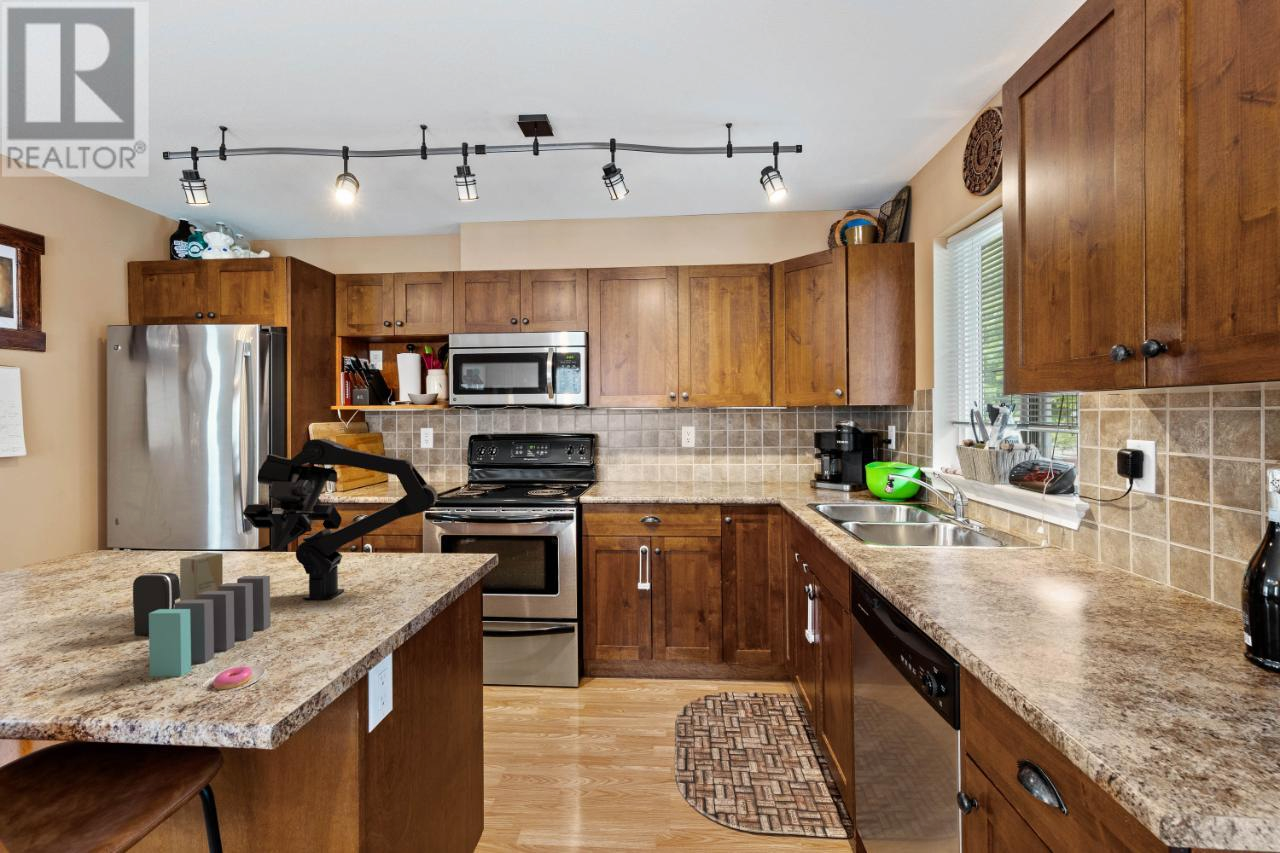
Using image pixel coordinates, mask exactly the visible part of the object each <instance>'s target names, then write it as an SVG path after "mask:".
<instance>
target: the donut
mask: <svg viewBox="0 0 1280 853" xmlns="http://www.w3.org/2000/svg"><path fill="white" fill-rule="evenodd" d="M265 673H266V668H265V667H264V666H262V665H254V664H252V665H250V664H249V665H244V666H243V665H242V666H238V667H232V668H229V669H226V670H223V671H221V672H220V673H217V674H214V675H213V676H211V677H210V678H208V679H206V680H205V681H204V682H203V683H202V685H201V686H200V690H202V689H203V687H204V686H205V685H206V683H207V684H208V683H210V682H212V681H213V687H214V688H215V689H216V688H217V690H229V691H227V693H232V692H235V690H236V691H238V689H239V690H241V689H244V688H247V687H249V686H252V685H253V684H254V683H255V682H257V681H260V680H261V678H263V676H264V675H265ZM252 675H254V676H255V677H256V679H255V681H254V680H253V681H254V682H253V681H251V684H250V683H249V684H247V683H248V682H249V681H250V680H251V678H253V677H252ZM213 679H214V680H213ZM211 680H212V681H211ZM209 681H210V682H209ZM204 684H205V685H204ZM245 684H246V685H245ZM240 685H241V686H242V687H241V686H240ZM243 685H244V686H243ZM202 686H203V687H202ZM234 687H235V688H236V689H234ZM229 688H231V689H233V690H230V689H229ZM202 691H203V690H202ZM231 691H232V692H231ZM225 692H226V691H224V692H222V694H226V693H225Z"/></svg>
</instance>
